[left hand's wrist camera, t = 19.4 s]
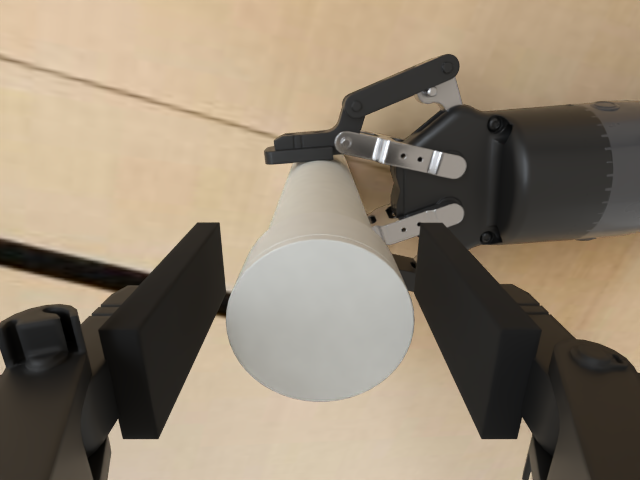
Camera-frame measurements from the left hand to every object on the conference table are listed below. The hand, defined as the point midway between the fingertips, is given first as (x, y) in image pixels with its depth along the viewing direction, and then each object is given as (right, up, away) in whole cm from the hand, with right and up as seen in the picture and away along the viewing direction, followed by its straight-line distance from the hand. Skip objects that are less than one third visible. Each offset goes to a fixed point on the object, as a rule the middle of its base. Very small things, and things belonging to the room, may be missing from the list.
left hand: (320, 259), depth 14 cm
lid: (0, -1, -4) cm, 4 cm away
